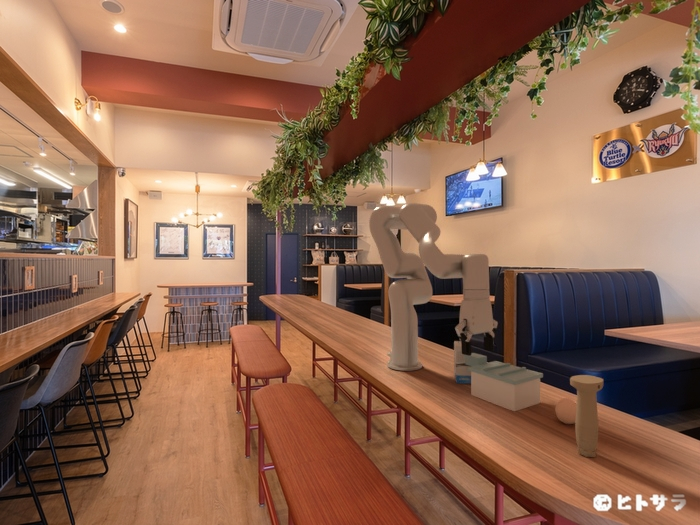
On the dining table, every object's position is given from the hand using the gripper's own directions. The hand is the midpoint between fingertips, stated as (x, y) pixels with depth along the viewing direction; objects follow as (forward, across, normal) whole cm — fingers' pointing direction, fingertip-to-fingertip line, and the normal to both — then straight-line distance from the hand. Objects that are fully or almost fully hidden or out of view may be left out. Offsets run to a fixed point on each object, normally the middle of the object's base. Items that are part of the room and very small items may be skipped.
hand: (477, 352), depth 114 cm
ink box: (+11, -3, -9) cm, 15 cm away
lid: (+4, 0, +7) cm, 8 cm away
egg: (+12, +1, +27) cm, 30 cm away
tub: (+11, 0, +9) cm, 14 cm away
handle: (+12, +12, +37) cm, 41 cm away
